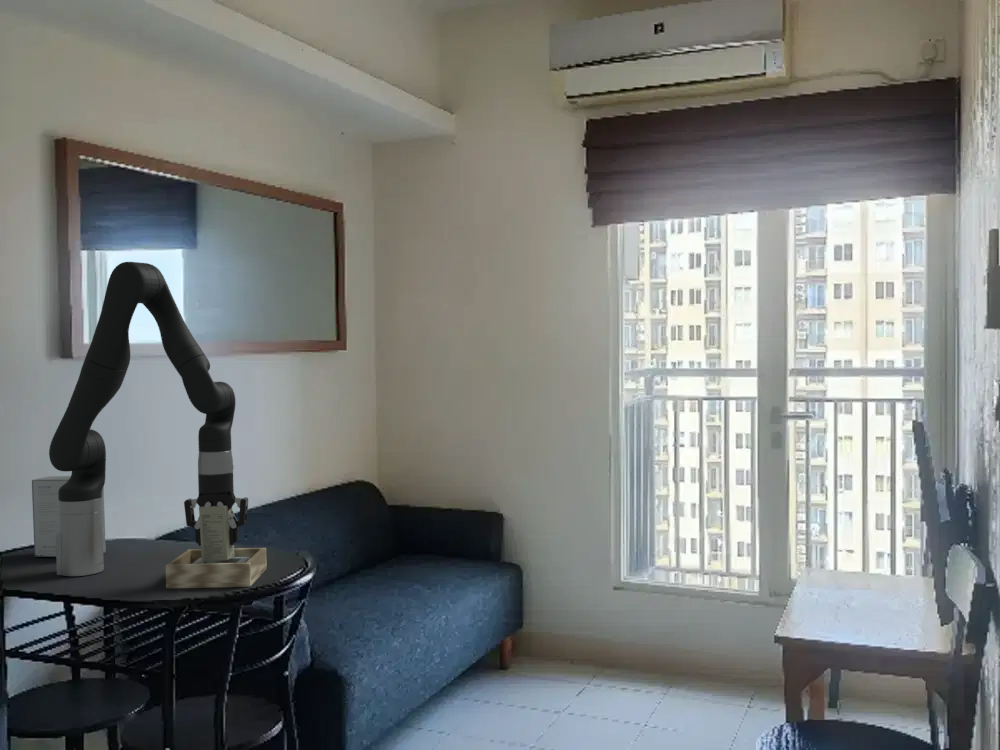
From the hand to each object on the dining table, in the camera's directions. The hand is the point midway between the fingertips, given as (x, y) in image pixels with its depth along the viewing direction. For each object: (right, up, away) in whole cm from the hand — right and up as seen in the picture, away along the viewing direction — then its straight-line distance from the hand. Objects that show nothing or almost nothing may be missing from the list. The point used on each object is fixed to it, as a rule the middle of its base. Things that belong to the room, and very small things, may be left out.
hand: (217, 544), depth 205 cm
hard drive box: (-46, -8, +27) cm, 54 cm away
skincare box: (0, -3, 0) cm, 3 cm away
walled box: (0, -8, 0) cm, 8 cm away
